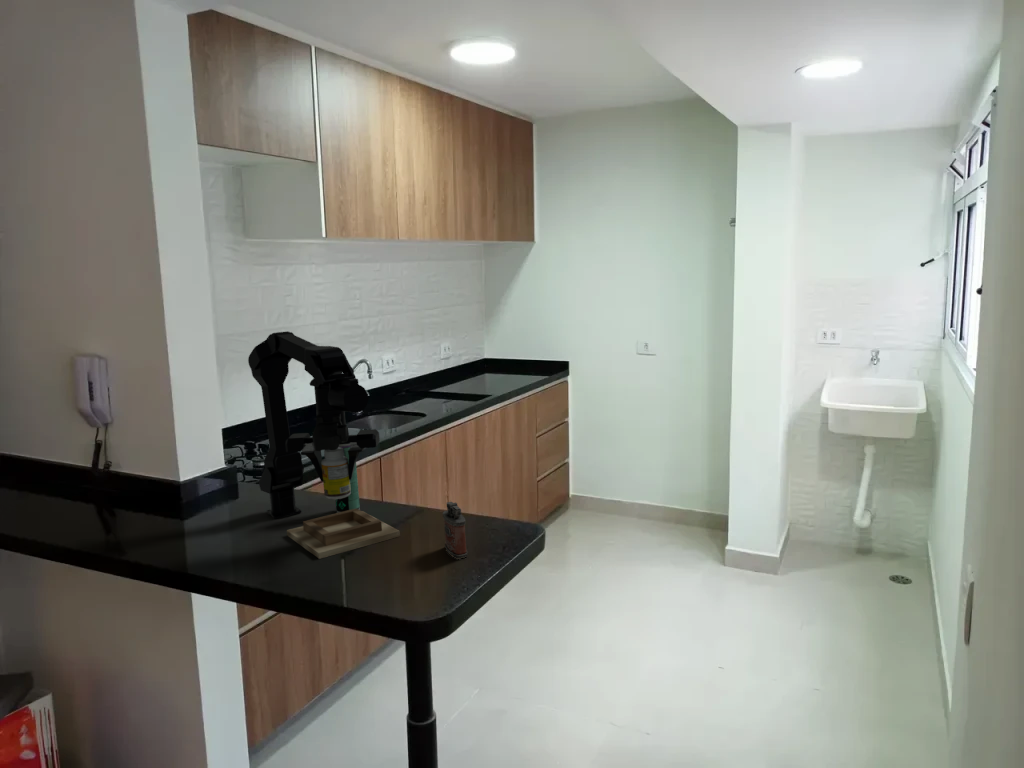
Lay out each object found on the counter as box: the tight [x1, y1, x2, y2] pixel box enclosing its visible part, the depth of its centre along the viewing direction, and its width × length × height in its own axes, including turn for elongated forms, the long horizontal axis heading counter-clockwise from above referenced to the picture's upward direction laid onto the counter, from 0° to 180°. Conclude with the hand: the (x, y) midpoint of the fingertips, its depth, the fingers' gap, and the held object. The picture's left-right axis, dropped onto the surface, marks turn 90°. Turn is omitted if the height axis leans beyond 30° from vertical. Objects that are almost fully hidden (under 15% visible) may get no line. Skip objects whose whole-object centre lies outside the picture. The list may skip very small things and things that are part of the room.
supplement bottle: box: [321, 447, 351, 500], centre depth 158 cm, size 6×6×10 cm
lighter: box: [442, 501, 468, 558], centre depth 148 cm, size 8×3×10 cm, turn 23°
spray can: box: [334, 444, 361, 513], centre depth 176 cm, size 6×6×20 cm
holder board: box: [286, 509, 401, 560], centre depth 160 cm, size 18×18×3 cm
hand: (336, 480), depth 159 cm, fingers closed on supplement bottle, 5 cm apart
